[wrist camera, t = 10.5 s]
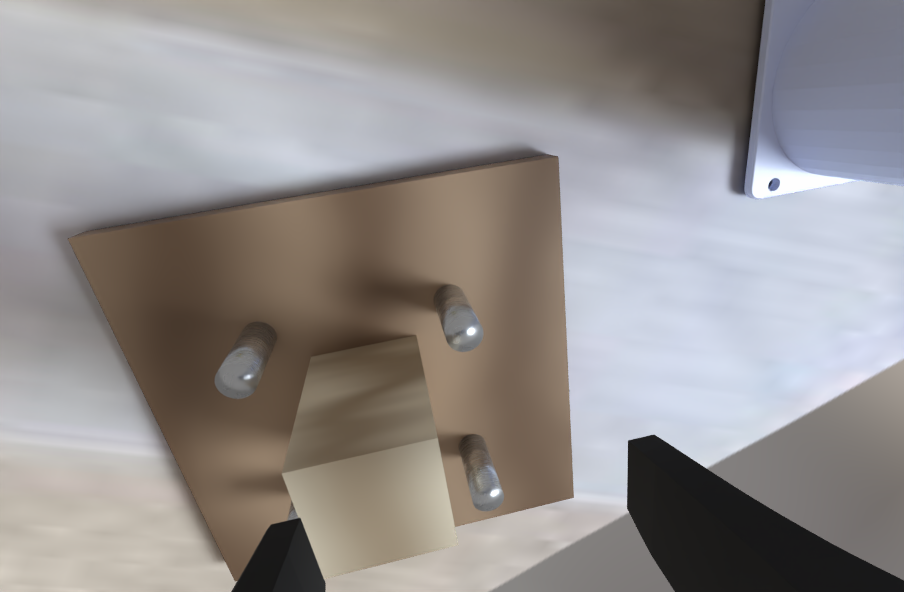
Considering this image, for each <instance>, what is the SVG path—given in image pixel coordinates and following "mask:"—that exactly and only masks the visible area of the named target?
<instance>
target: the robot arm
mask: <svg viewBox="0 0 904 592" xmlns="http://www.w3.org/2000/svg"><path fill="white" fill-rule="evenodd" d="M771 180H772V184H771V186H770V187H769V188H768V184H769V182H770V181H771ZM855 181H868V182H875V183H883V184H891V185H899V186H904V0H765V9H764V18H763V27H762V36H761V45H760V54H759V62H758V71H757V80H756V89H755V98H754V107H753V115H752V124H751V133H750V142H749V151H748V160H747V168H746V177H745V186H744V190H745V194H746V196H748V197H749V198H753V199H764V198H769V197H774V196H780V195H785V194H790V193H796V192H801V191H807V190H812V189H817V188H823V187H828V186H834V185H839V184H844V183H850V182H855ZM627 509H628V511H629V513H630V515H631V517H632V519H633V521H634V523H635V524H636V527H637V529H638V531H639V533H640V535H641V536H642V538H643V540H644V542H645V544H646V546H647V548H648V550H649V552H650V553H651V555H652V557H653V558H654V560H655V561H656V563H657V565H658V566H659V568H660V569H661V571H662V572H663V574H664V575H665V577H666V578H667V580H668V582H669V583H670V585H671V586H672V588H673V589H674V591H675V592H904V581H903V580H901V579H900V578H898V577H896V576H894V575H891V574H890V573H888V572H886V571H884V570H882V569H880V568H878V567H876V566H873V565H872V564H870V563H868V562H866V561H864V560H862V559H860V558H858V557H856V556H854V555H852V554H850V553H848V552H846V551H844V550H843V549H841V548H839V547H837V546H835V545H833V544H831V543H829V542H828V541H826V540H824V539H822V538H820V537H819V536H817V535H815V534H813V533H812V532H810V531H808V530H806V529H805V528H803V527H801V526H799V525H797V524H796V523H794V522H792V521H790V520H789V519H787V518H785V517H783V516H782V515H780V514H778V513H777V512H775V511H773V510H772V509H770V508H768V507H767V506H765V505H763V504H762V503H760V502H758V501H757V500H755V499H753V498H752V497H750V496H749V495H747V494H745V493H744V492H742V491H741V490H739V489H737V488H736V487H734V486H733V485H731V484H729V483H728V482H726V481H724V480H723V479H722V478H720V477H718V476H717V475H715V474H714V473H712V472H711V471H709V470H708V469H706V468H705V467H703V466H702V465H700V464H698V463H697V462H695V461H694V460H692V459H691V458H689V457H688V456H686V455H685V454H683V453H682V452H680V451H679V450H677V449H676V448H674V447H673V446H671V445H669V444H668V443H666V442H665V441H663V440H662V439H660V438H659V437H657V436H655V435H650V436H646V437H642V438H637V439H633V440H629V441H628V489H627ZM231 592H325V581H324V578H323V575H322V573H321V570H320V568H319V565H318V562H317V560H316V557H315V554H314V552H313V549H312V547H311V544H310V541H309V539H308V536H307V533H306V531H305V528H304V526H303V523H302V520H301V518H296V519H292V520H288V521H284V522H279V523H275V524H271V525H270V526H269V528H268V529H267V530H266V532H265V534H264V536H263V537H262V539H261V541H260V543H259V544H258V546H257V548H256V550H255V551H254V553H253V555H252V557H251V559H250V560H249V562H248V564H247V566H246V567H245V569H244V571H243V573H242V574H241V576H240V578H239V579H238V581H237V583H236V585H235V586H234V588H233V590H232V591H231Z"/></svg>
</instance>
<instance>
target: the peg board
mask: <svg viewBox="0 0 904 592" xmlns="http://www.w3.org/2000/svg"><path fill="white" fill-rule="evenodd" d="M68 240H69V242H70V244H71V246H72V248H73V250H74V253H75V255H76V257H77V259H78V261H79V263H80V265H81V267H82V269H83V271H84V273H85V275H86V277H87V279H88V281H89V283H90V285H91V287H92V289H93V291H94V293H95V296H96V298H97V300H98V302H99V304H100V306H101V308H102V310H103V312H104V314H105V316H106V318H107V320H108V322H109V324H110V326H111V328H112V330H113V332H114V334H115V336H116V339H117V341H118V343H119V345H120V347H121V349H122V351H123V353H124V355H125V357H126V359H127V361H128V363H129V365H130V367H131V369H132V371H133V373H134V375H135V377H136V379H137V382H138V384H139V386H140V388H141V390H142V392H143V394H144V396H145V398H146V400H147V402H148V404H149V406H150V408H151V410H152V412H153V414H154V416H155V418H156V420H157V422H158V425H159V427H160V429H161V431H162V433H163V435H164V437H165V439H166V441H167V443H168V445H169V447H170V449H171V451H172V453H173V455H174V457H175V459H176V461H177V463H178V465H179V468H180V470H181V472H182V474H183V476H184V478H185V480H186V482H187V484H188V486H189V488H190V490H191V492H192V494H193V496H194V498H195V500H196V502H197V504H198V506H199V508H200V511H201V513H202V515H203V517H204V519H205V521H206V523H207V525H208V527H209V529H210V531H211V533H212V535H213V537H214V539H215V541H216V543H217V545H218V547H219V549H220V551H221V554H222V556H223V558H224V560H225V562H226V564H227V566H228V568H229V570H230V572H231V574H232V576H233V578H234V580H235V581H238V579H239V578H240V576H241V574H242V573H243V571H244V569H245V567H246V566H247V564H248V562H249V560H250V559H251V557H252V555H253V553H254V551H255V550H256V548H257V546H258V544H259V543H260V541H261V539H262V537H263V536H264V534H265V532H266V530H267V529H268V528H269V526H270V525H271V524H275V523H279V522H284V521H288V520H292V519H296V518H298V515H297V513H296V510H295V507H294V505H293V502H292V500H291V497H290V494H289V492H288V489H287V486H286V484H285V481H284V478H283V476H282V470H283V466H284V462H285V458H286V454H287V450H288V446H289V442H290V438H291V434H292V430H293V426H294V422H295V419H296V415H297V411H298V407H299V403H300V399H301V395H302V391H303V387H304V383H305V379H306V375H307V371H308V367H309V363H310V359H311V357H313V356H318V355H322V354H327V353H332V352H337V351H342V350H347V349H352V348H357V347H362V346H366V345H371V344H376V343H381V342H386V341H391V340H396V339H401V338H406V337H410V336H415V335H416V336H417V340H418V345H419V350H420V355H421V360H422V365H423V369H424V374H425V379H426V384H427V389H428V394H429V398H430V403H431V408H432V413H433V418H434V423H435V427H436V432H437V437H438V442H439V447H440V453H441V458H442V463H443V468H444V473H445V478H446V483H447V489H448V494H449V499H450V504H451V509H452V514H453V520H454V525H455V527H457V526H461V525H465V524H469V523H473V522H477V521H481V520H485V519H489V518H493V517H497V516H501V515H505V514H509V513H513V512H517V511H521V510H525V509H529V508H534V507H538V506H542V505H546V504H550V503H554V502H558V501H562V500H566V499H570V498H574V493H573V471H572V448H571V426H570V404H569V382H568V360H567V338H566V316H565V294H564V272H563V249H562V227H561V205H560V183H559V161H558V156H553V155H548V154H547V155H541V156H535V157H529V158H523V159H517V160H511V161H505V162H499V163H493V164H487V165H481V166H475V167H469V168H463V169H457V170H451V171H445V172H439V173H433V174H427V175H421V176H415V177H409V178H403V179H397V180H391V181H385V182H379V183H373V184H367V185H361V186H355V187H349V188H343V189H337V190H331V191H325V192H319V193H313V194H307V195H301V196H295V197H289V198H283V199H277V200H271V201H265V202H259V203H253V204H247V205H241V206H235V207H229V208H223V209H217V210H211V211H205V212H199V213H193V214H187V215H181V216H175V217H169V218H163V219H157V220H151V221H145V222H139V223H133V224H127V225H121V226H115V227H109V228H103V229H97V230H91V231H86V232H83V233H81V234H78V235H76V236H73V237H71V238H68Z"/></svg>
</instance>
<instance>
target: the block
mask: <svg viewBox="0 0 904 592" xmlns="http://www.w3.org/2000/svg"><path fill="white" fill-rule="evenodd" d="M282 476H283V478H284V481H285V484H286V486H287V489H288V492H289V494H290V497H291V500H292V502H293V505H294V507H295V510H296V513H297V515H298V518H301V520H302V523H303V526H304V528H305V531H306V533H307V536H308V539H309V541H310V544H311V547H312V549H313V552H314V554H315V557H316V560H317V562H318V565H319V568H320V570H321V573H322V575H323V578H324V579H327V578H331V577H335V576H339V575H343V574H347V573H350V572H354V571H358V570H362V569H366V568H370V567H374V566H378V565H382V564H386V563H390V562H394V561H398V560H402V559H406V558H410V557H414V556H418V555H421V554H425V553H429V552H433V551H437V550H441V549H445V548H449V547H453V546H457V545H458V540H457V535H456V530H455V525H454V520H453V514H452V509H451V504H450V499H449V494H448V489H447V483H446V478H445V473H444V468H443V463H442V458H441V453H440V447H439V442H438V437H437V432H436V427H435V423H434V418H433V413H432V408H431V403H430V398H429V394H428V389H427V384H426V379H425V374H424V369H423V365H422V360H421V355H420V350H419V345H418V340H417V336H416V335H415V336H410V337H406V338H401V339H396V340H391V341H386V342H381V343H376V344H371V345H366V346H362V347H357V348H352V349H347V350H342V351H337V352H332V353H327V354H322V355H318V356H313V357H311V359H310V363H309V367H308V371H307V375H306V379H305V383H304V387H303V391H302V395H301V399H300V403H299V407H298V411H297V415H296V419H295V422H294V426H293V430H292V434H291V438H290V442H289V446H288V450H287V454H286V458H285V462H284V466H283V470H282Z"/></svg>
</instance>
